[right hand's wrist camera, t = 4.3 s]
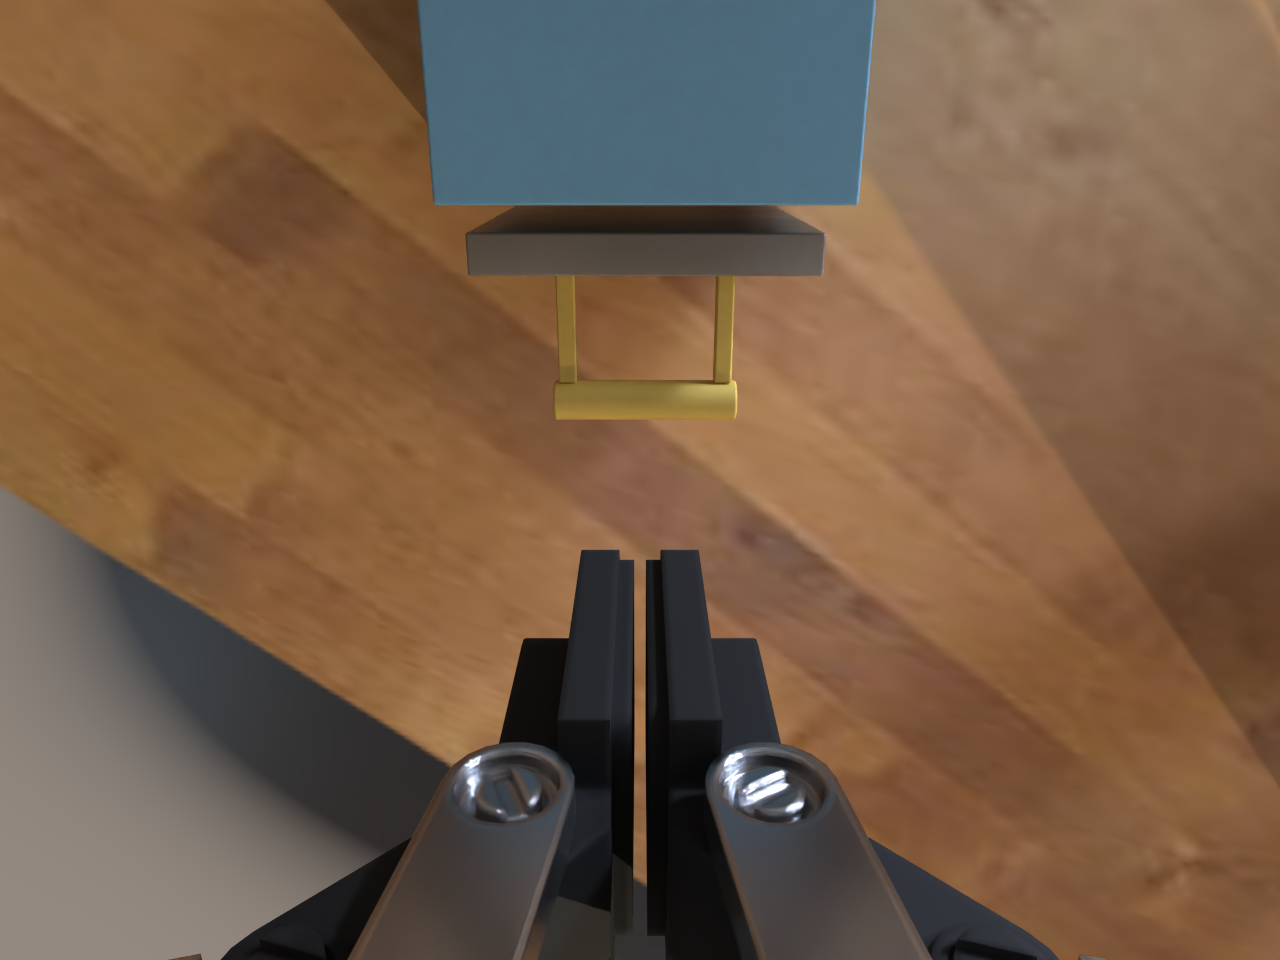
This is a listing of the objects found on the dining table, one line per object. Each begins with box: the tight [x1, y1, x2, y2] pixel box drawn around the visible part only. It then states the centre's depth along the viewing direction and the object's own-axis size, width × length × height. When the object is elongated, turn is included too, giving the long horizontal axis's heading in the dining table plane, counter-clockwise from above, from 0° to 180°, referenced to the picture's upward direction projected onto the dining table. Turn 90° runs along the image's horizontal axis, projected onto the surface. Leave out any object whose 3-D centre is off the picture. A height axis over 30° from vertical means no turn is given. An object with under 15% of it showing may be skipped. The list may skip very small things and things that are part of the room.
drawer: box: [466, 206, 826, 420], centre depth 28 cm, size 20×10×10 cm, turn 0°
